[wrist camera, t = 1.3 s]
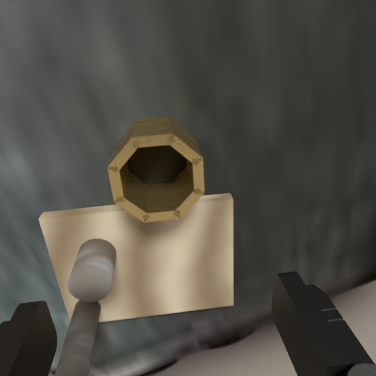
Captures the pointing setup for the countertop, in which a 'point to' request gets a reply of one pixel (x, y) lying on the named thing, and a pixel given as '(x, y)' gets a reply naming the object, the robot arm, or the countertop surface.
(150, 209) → the brass collar
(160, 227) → the maple board
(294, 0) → the countertop surface
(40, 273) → the countertop surface
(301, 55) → the countertop surface
